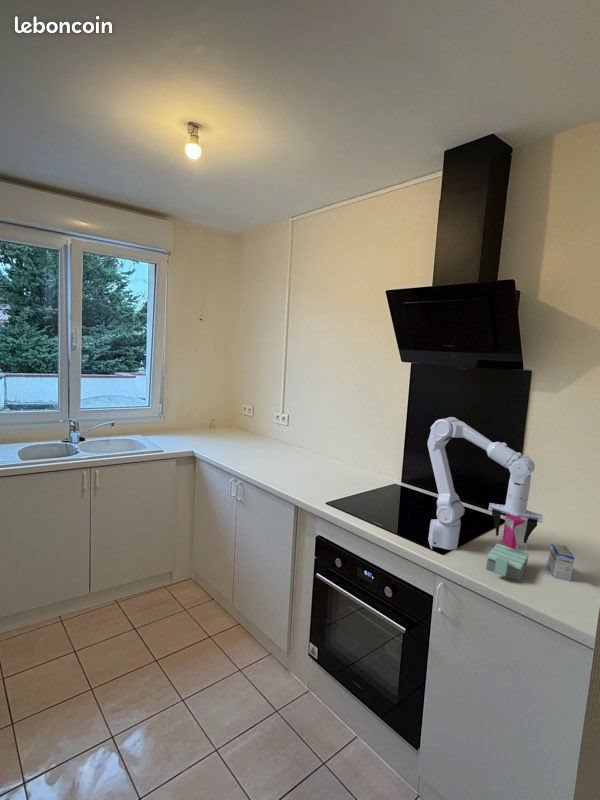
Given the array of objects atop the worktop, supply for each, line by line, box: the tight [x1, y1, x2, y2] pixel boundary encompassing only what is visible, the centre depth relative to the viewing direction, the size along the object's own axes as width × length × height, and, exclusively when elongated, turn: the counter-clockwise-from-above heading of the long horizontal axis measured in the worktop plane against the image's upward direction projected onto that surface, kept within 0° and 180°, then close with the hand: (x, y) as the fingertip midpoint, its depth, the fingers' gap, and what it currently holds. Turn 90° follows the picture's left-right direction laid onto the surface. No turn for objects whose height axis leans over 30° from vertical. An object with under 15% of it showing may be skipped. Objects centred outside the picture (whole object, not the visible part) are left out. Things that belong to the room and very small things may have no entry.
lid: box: [486, 542, 530, 577], centre depth 126 cm, size 9×14×4 cm, turn 141°
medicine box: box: [546, 542, 575, 582], centre depth 127 cm, size 8×4×9 cm, turn 163°
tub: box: [485, 557, 529, 582], centre depth 128 cm, size 9×11×4 cm
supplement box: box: [501, 514, 529, 551], centre depth 144 cm, size 6×6×12 cm
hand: (510, 538), depth 128 cm, fingers open, 7 cm apart
